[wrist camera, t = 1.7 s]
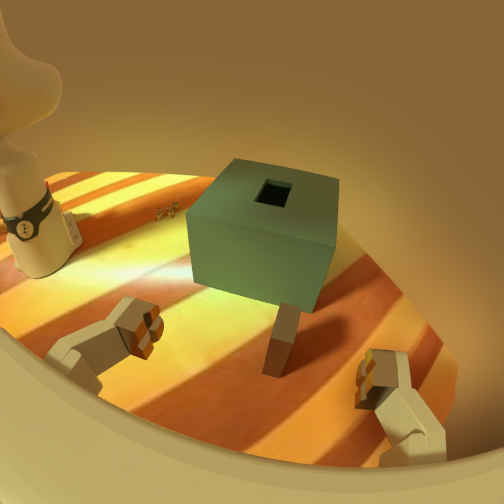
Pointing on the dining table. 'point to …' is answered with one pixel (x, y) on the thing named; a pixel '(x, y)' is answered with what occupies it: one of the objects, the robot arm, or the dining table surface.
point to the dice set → (169, 211)
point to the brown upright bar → (281, 339)
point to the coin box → (265, 233)
